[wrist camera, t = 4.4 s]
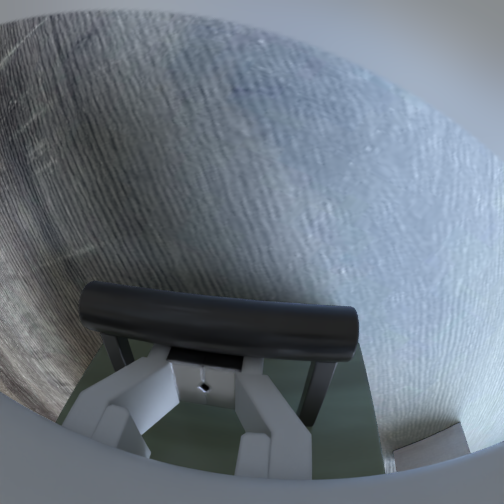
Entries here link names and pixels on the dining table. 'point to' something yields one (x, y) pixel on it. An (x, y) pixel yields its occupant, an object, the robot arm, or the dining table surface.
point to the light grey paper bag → (433, 449)
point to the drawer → (249, 345)
